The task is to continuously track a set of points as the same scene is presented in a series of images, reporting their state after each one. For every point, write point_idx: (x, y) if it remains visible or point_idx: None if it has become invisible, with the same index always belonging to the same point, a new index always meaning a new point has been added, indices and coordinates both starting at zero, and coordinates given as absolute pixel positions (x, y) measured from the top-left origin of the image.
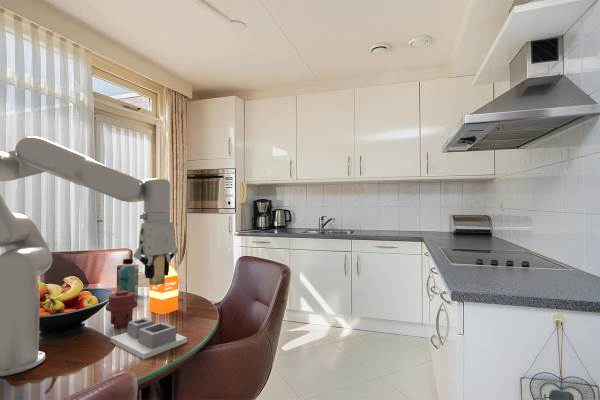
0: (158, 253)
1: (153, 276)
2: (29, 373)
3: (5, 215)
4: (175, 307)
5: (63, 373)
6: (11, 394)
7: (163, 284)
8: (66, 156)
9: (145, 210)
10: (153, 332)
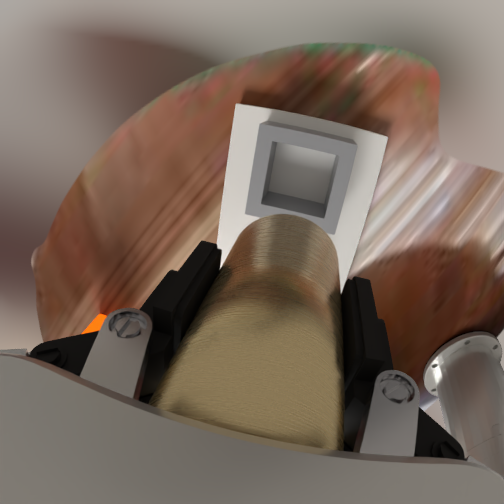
0: (333, 467)
1: (338, 287)
2: (487, 316)
3: None
4: (102, 320)
5: (484, 260)
6: None
7: None
8: None
9: None
10: (291, 203)
